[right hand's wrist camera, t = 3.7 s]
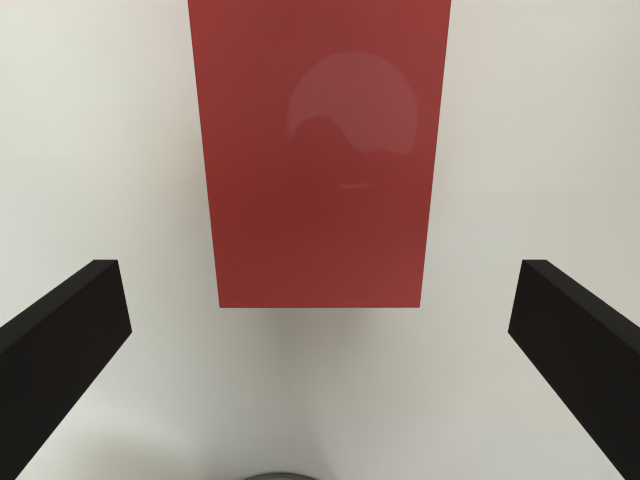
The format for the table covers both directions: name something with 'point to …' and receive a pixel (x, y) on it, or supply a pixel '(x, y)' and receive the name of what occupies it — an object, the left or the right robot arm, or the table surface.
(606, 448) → the right robot arm
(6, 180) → the table surface
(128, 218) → the table surface
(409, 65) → the cabinet
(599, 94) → the table surface
